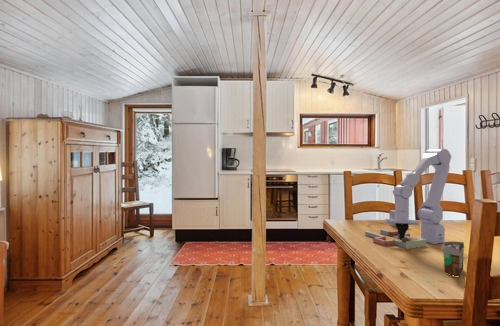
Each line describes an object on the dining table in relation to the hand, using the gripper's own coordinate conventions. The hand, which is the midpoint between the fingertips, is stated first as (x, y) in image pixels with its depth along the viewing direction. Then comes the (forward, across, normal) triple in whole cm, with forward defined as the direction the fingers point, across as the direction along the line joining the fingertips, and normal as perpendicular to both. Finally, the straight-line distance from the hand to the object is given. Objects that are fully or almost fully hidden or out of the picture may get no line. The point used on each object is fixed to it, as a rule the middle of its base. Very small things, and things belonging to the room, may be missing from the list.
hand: (401, 239), depth 152 cm
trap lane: (+1, +3, -4) cm, 5 cm away
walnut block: (+2, -3, +3) cm, 4 cm away
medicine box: (+2, -3, -38) cm, 38 cm away
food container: (+2, -11, +36) cm, 38 cm away
